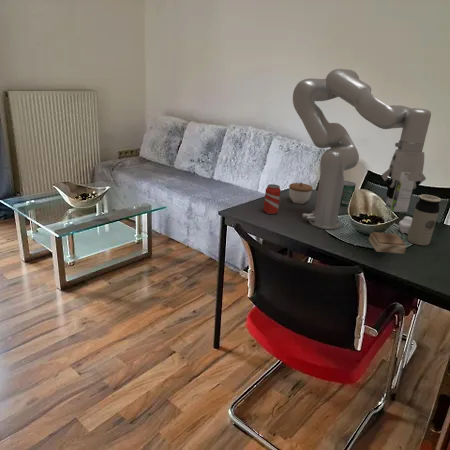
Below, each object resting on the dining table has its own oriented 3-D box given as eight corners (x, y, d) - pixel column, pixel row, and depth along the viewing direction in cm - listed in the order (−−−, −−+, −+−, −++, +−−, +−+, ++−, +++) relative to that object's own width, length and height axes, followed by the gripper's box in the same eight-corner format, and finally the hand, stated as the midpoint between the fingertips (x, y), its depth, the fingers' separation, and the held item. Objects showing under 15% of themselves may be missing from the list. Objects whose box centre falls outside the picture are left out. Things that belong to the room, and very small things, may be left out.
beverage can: (280, 213, 173) (284, 187, 169) (269, 215, 170) (272, 188, 165) (271, 209, 178) (274, 183, 173) (260, 211, 174) (263, 184, 170)
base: (376, 252, 143) (378, 242, 141) (368, 240, 152) (370, 231, 151) (404, 254, 143) (406, 244, 141) (394, 243, 152) (397, 233, 150)
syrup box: (384, 206, 144) (393, 167, 138) (400, 206, 144) (409, 167, 139) (391, 211, 139) (401, 171, 133) (408, 212, 139) (417, 171, 134)
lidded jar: (313, 205, 187) (316, 186, 183) (292, 205, 184) (294, 186, 181) (304, 198, 196) (307, 179, 193) (284, 198, 194) (286, 179, 190)
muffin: (397, 233, 160) (401, 217, 158) (396, 228, 165) (400, 212, 163) (413, 236, 158) (417, 220, 156) (412, 231, 164) (417, 215, 161)
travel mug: (403, 236, 157) (415, 193, 150) (424, 238, 157) (436, 194, 150) (412, 245, 150) (424, 200, 143) (433, 246, 150) (446, 201, 143)
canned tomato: (331, 203, 191) (334, 181, 187) (343, 201, 195) (347, 180, 190) (342, 208, 185) (346, 186, 181) (355, 207, 188) (359, 184, 184)
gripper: (390, 147, 129) (378, 200, 136) (441, 150, 130) (427, 202, 137) (381, 143, 136) (370, 193, 143) (429, 146, 137) (417, 196, 144)
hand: (398, 197), depth 140 cm, fingers closed on syrup box, 5 cm apart
